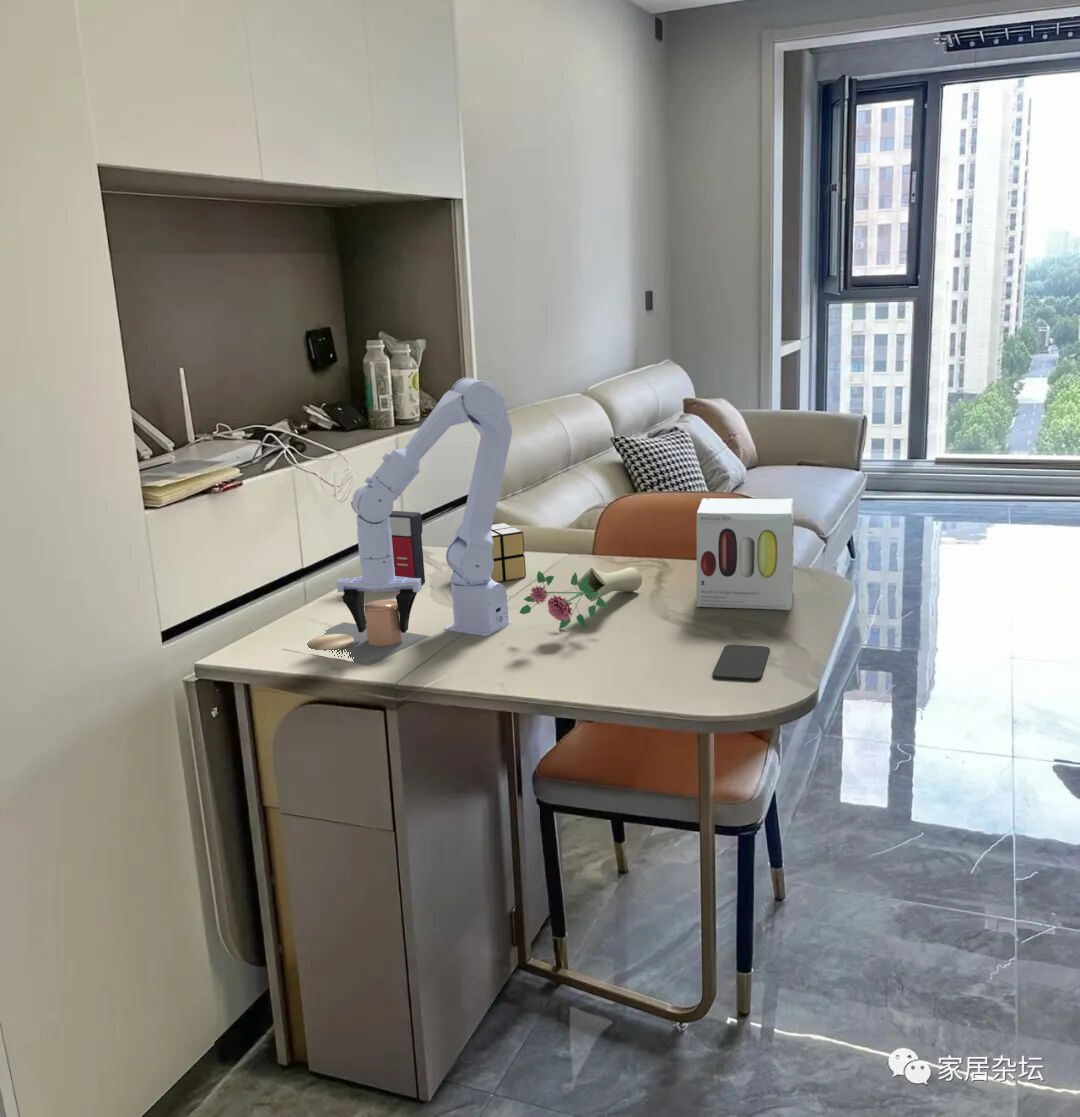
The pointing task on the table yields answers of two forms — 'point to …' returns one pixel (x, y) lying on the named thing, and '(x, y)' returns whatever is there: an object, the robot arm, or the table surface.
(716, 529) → the supplement box
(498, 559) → the puzzle cube
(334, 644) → the coaster
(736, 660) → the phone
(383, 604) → the cup
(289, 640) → the table surface
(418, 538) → the grey and red box
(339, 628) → the placemat
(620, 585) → the flower vase
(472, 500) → the robot arm
